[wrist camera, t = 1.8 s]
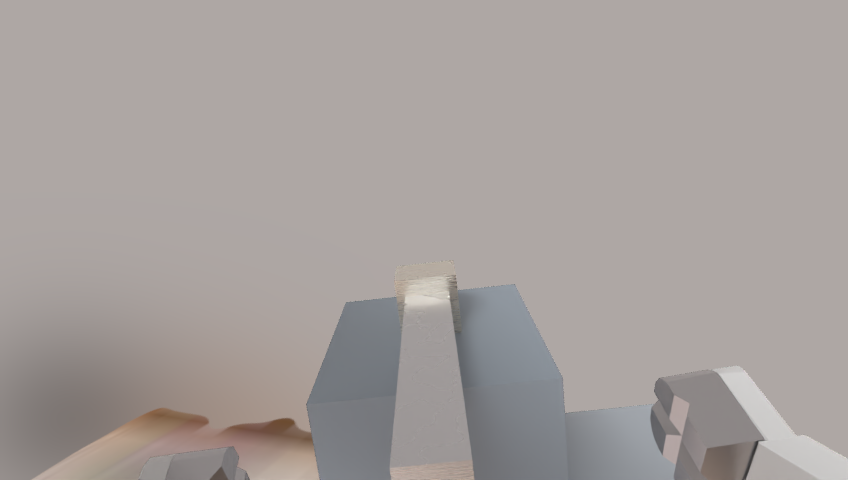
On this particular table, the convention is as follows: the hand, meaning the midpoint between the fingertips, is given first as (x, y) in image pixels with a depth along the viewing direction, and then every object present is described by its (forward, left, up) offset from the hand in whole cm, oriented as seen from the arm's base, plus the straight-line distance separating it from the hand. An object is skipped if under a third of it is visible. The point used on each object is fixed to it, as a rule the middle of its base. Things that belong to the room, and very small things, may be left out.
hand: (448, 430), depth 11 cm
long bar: (-13, +8, -7) cm, 17 cm away
